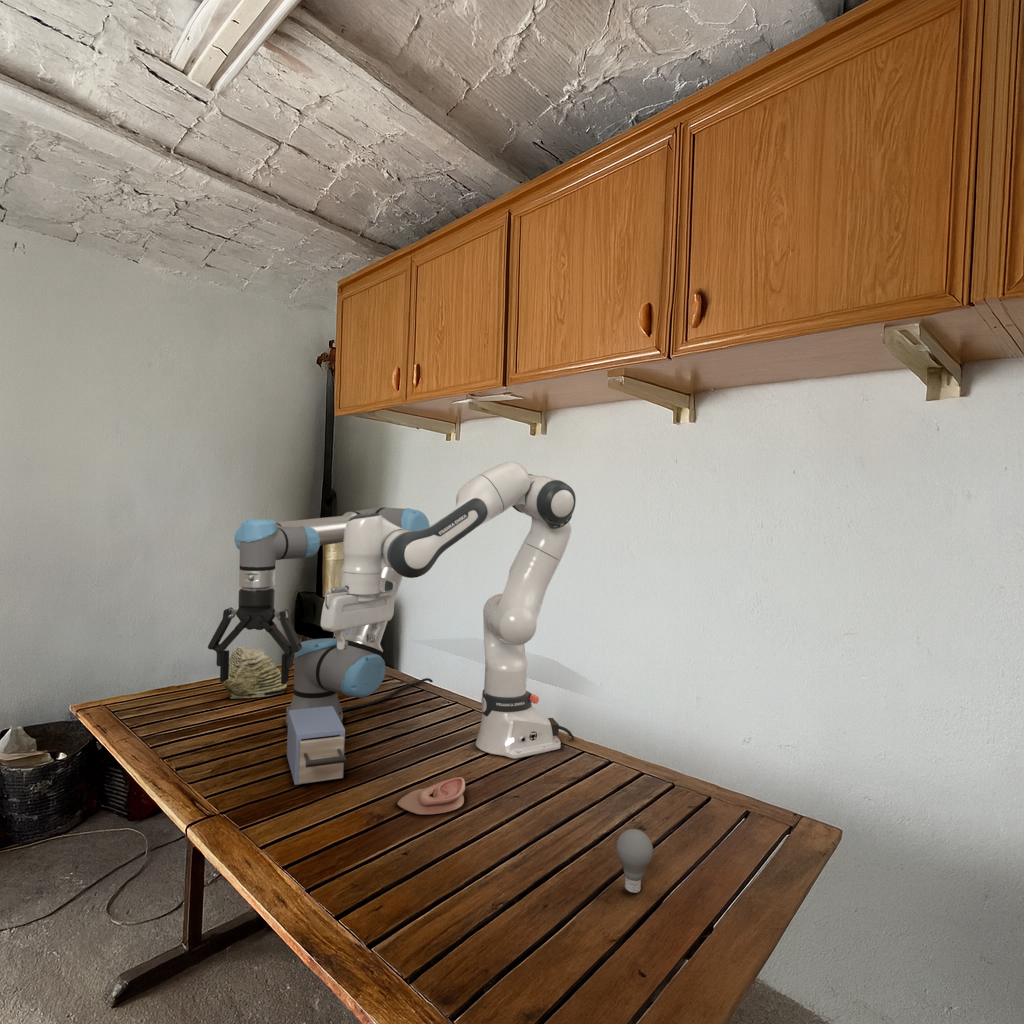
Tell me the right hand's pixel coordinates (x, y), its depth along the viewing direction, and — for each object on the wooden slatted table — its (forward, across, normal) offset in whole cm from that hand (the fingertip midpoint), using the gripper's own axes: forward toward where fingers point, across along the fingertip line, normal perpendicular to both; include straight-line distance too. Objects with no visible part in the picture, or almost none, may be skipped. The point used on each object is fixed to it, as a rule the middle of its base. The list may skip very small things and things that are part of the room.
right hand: (357, 645), depth 143 cm
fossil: (+31, +26, +65) cm, 76 cm away
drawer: (+29, -4, +6) cm, 30 cm away
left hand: (+10, -11, +20) cm, 25 cm away
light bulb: (+29, -5, -69) cm, 75 cm away
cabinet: (+30, -1, +10) cm, 32 cm away
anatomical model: (+30, 0, -23) cm, 37 cm away
